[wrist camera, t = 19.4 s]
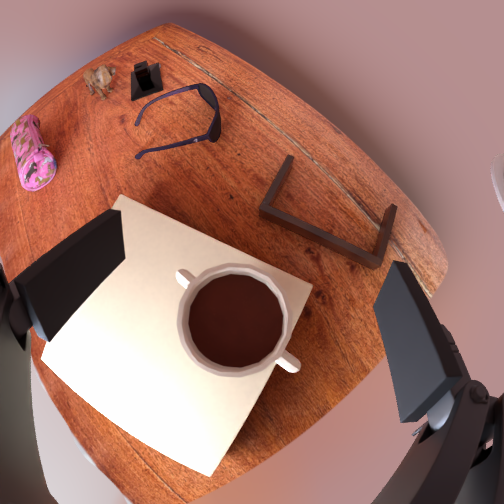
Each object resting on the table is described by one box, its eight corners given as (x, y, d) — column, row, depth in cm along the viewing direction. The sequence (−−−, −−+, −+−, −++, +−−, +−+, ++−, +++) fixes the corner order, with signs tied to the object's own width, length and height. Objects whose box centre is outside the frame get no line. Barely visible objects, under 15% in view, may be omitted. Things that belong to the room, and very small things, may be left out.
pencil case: (67, 167, 42) (44, 142, 33) (37, 200, 40) (10, 180, 31) (46, 125, 46) (28, 104, 38) (20, 152, 44) (1, 133, 36)
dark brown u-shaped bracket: (390, 213, 38) (397, 206, 36) (373, 270, 35) (380, 266, 33) (286, 163, 40) (288, 154, 38) (258, 216, 38) (258, 208, 35)
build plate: (131, 73, 49) (126, 59, 45) (160, 63, 50) (155, 49, 45) (131, 101, 46) (124, 86, 41) (164, 89, 46) (159, 73, 42)
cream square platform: (304, 292, 35) (313, 285, 29) (216, 457, 29) (210, 477, 23) (136, 211, 38) (120, 193, 33) (65, 357, 32) (41, 358, 26)
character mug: (183, 316, 28) (132, 305, 16) (225, 266, 30) (204, 221, 17) (262, 380, 26) (267, 420, 14) (304, 329, 28) (342, 328, 15)
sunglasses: (228, 146, 41) (226, 126, 37) (136, 173, 40) (125, 156, 36) (213, 96, 45) (210, 76, 40) (135, 119, 44) (126, 102, 39)
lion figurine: (127, 88, 47) (115, 59, 39) (111, 103, 46) (96, 75, 37) (94, 81, 50) (81, 57, 41) (79, 95, 48) (65, 71, 40)
